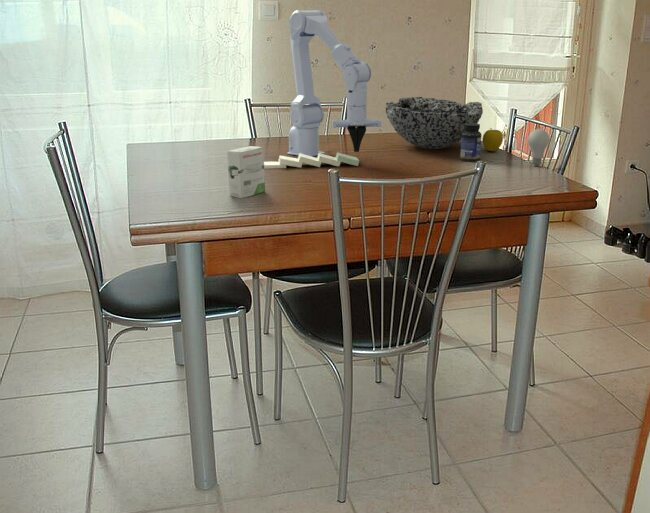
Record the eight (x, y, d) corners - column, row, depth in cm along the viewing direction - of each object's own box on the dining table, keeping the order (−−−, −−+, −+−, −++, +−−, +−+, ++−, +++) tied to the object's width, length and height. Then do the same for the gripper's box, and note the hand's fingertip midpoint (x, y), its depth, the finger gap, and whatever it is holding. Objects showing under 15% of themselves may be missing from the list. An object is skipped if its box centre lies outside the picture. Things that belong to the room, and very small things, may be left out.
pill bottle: (479, 162, 221) (482, 126, 217) (459, 161, 222) (461, 125, 218) (479, 158, 227) (482, 122, 223) (460, 157, 228) (462, 122, 224)
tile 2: (301, 167, 215) (279, 163, 214) (299, 164, 220) (278, 160, 219) (302, 162, 215) (280, 158, 213) (300, 159, 219) (279, 155, 218)
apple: (480, 152, 235) (481, 128, 232) (483, 149, 240) (485, 125, 238) (500, 154, 233) (502, 129, 230) (503, 150, 238) (505, 126, 236)
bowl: (374, 153, 235) (375, 106, 230) (398, 137, 263) (400, 95, 258) (471, 159, 225) (474, 110, 220) (486, 142, 253) (489, 98, 248)
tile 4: (339, 166, 216) (318, 161, 215) (337, 163, 221) (317, 157, 220) (340, 161, 216) (319, 156, 215) (339, 158, 221) (318, 152, 220)
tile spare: (357, 166, 217) (336, 160, 216) (355, 162, 222) (335, 157, 221) (359, 161, 216) (338, 155, 215) (357, 157, 221) (336, 152, 220)
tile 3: (319, 167, 216) (298, 161, 215) (318, 163, 220) (297, 158, 219) (321, 162, 215) (300, 156, 214) (319, 158, 220) (299, 153, 219)
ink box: (252, 189, 191) (250, 144, 187) (266, 192, 188) (264, 146, 184) (228, 195, 184) (226, 149, 181) (242, 198, 181) (239, 152, 178)
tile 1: (286, 170, 215) (264, 170, 215) (285, 166, 220) (263, 166, 219) (286, 164, 215) (264, 165, 214) (285, 161, 219) (263, 161, 219)
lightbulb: (547, 164, 217) (551, 128, 213) (546, 169, 211) (550, 131, 208) (526, 163, 219) (529, 127, 215) (524, 167, 213) (528, 130, 210)
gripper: (333, 107, 209) (333, 154, 213) (383, 106, 210) (382, 153, 214) (331, 104, 216) (331, 149, 220) (379, 103, 217) (378, 148, 221)
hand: (356, 151), depth 218 cm, fingers closed
